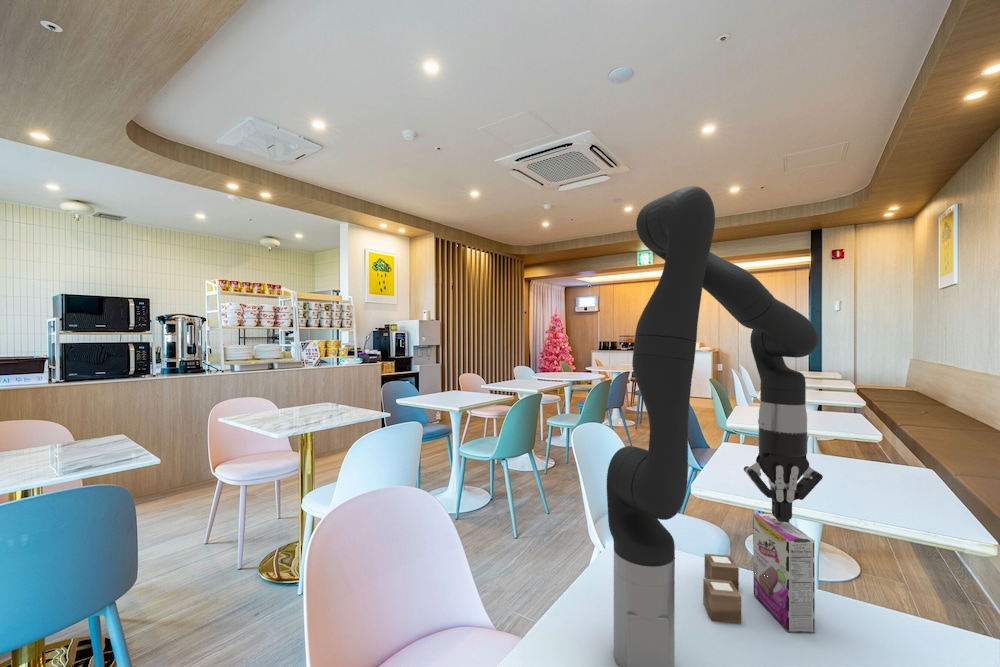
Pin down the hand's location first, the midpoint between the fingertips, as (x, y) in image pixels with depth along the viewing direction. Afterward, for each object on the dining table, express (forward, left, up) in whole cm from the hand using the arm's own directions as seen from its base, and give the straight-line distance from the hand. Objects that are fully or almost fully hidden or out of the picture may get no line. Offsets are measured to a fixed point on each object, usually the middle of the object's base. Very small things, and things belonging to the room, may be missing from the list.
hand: (782, 520), depth 81 cm
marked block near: (-2, +11, -17) cm, 21 cm away
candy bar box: (0, 0, -18) cm, 18 cm away
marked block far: (+8, +8, -17) cm, 21 cm away
